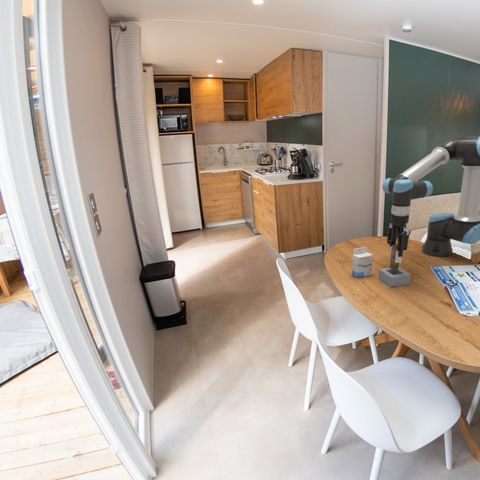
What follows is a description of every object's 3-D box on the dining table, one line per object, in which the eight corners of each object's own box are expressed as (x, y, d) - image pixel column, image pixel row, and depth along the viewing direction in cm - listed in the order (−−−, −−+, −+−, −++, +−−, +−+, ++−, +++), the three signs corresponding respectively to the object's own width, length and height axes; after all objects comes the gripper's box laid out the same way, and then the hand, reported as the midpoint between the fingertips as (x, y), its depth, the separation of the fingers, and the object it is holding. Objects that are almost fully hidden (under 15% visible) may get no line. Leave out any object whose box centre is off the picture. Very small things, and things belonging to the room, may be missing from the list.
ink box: (356, 278, 155) (358, 252, 150) (351, 274, 159) (352, 248, 155) (371, 275, 156) (373, 249, 152) (365, 271, 161) (367, 246, 156)
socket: (396, 274, 155) (397, 266, 153) (409, 283, 145) (410, 274, 144) (378, 277, 153) (379, 269, 152) (390, 287, 144) (391, 277, 142)
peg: (395, 266, 149) (397, 243, 145) (400, 269, 145) (403, 246, 141) (387, 267, 148) (390, 244, 144) (393, 270, 145) (395, 247, 141)
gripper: (381, 210, 145) (377, 255, 153) (405, 219, 129) (399, 268, 137) (395, 209, 146) (391, 253, 154) (420, 217, 130) (414, 266, 138)
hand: (395, 260), depth 145 cm, fingers closed on peg, 4 cm apart
